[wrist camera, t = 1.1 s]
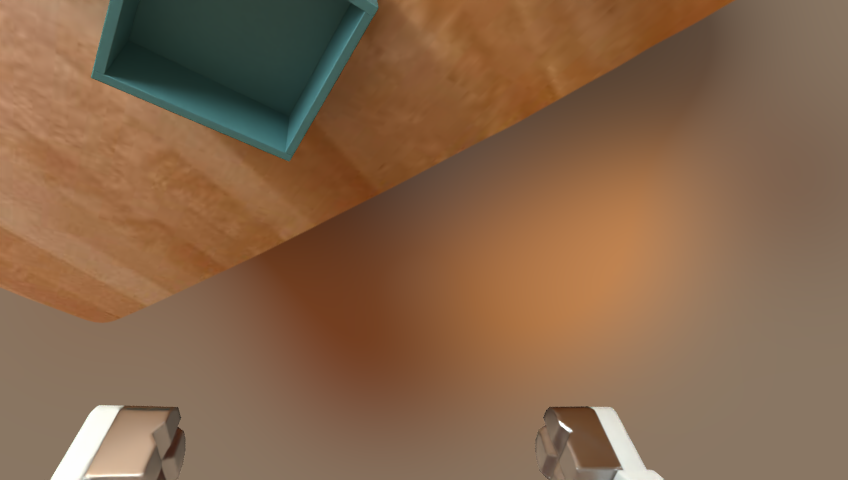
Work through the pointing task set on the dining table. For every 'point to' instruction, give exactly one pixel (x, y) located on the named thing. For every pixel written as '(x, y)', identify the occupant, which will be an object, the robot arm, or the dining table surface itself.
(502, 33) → the dining table surface
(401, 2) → the dining table surface
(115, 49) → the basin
